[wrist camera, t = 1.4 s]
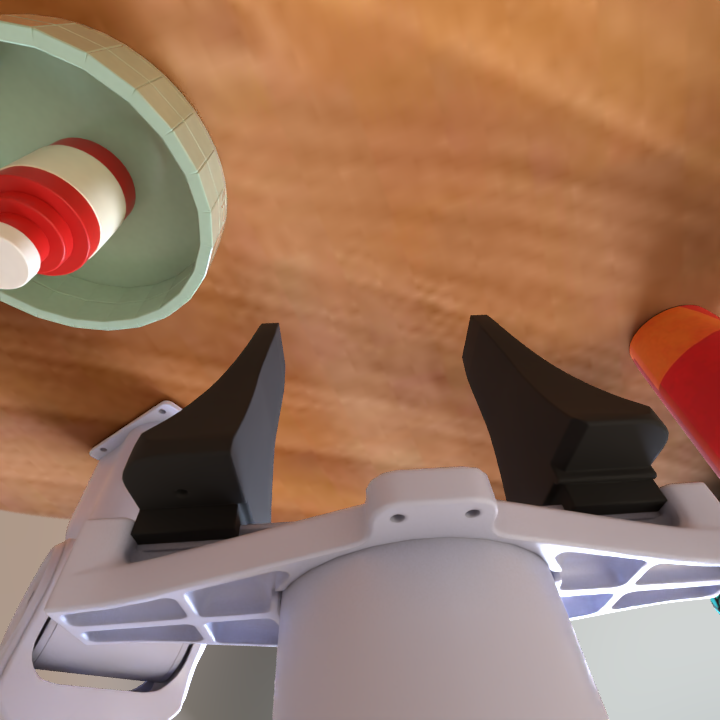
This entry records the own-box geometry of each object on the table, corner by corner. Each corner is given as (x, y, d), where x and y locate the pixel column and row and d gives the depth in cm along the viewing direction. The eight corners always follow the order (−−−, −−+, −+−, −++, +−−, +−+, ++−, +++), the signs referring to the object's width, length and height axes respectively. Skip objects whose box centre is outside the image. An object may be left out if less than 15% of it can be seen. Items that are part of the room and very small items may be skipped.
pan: (127, 325, 27) (102, 367, 24) (-115, 149, 20) (-196, 176, 17) (278, 206, 23) (271, 238, 20) (39, -75, 15) (-30, -93, 12)
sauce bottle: (103, 239, 23) (20, 330, 16) (24, 173, 20) (-110, 249, 14) (155, 192, 21) (84, 271, 15) (75, 115, 19) (-47, 171, 13)
